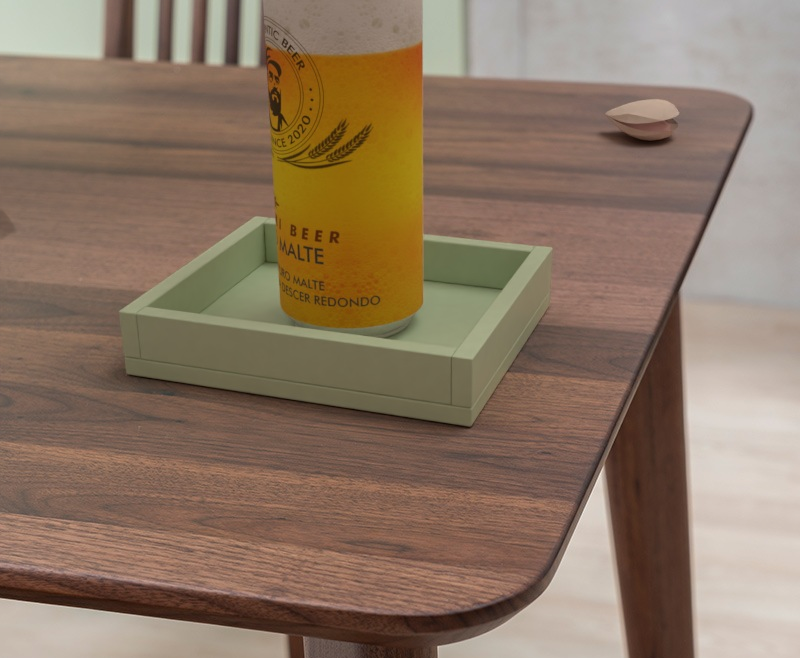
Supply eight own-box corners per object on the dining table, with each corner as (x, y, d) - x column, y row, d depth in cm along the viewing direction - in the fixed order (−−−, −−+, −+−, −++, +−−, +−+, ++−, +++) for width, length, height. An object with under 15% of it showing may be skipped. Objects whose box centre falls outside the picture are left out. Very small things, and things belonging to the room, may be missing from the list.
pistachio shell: (660, 149, 81) (664, 110, 79) (590, 138, 83) (592, 100, 82) (686, 134, 84) (690, 96, 83) (618, 125, 86) (620, 88, 85)
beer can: (260, 308, 55) (236, -54, 48) (384, 284, 57) (378, -64, 51) (315, 358, 50) (298, -36, 43) (449, 330, 53) (451, -48, 46)
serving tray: (125, 374, 51) (117, 310, 50) (258, 270, 62) (255, 215, 60) (471, 427, 46) (472, 359, 45) (550, 305, 57) (553, 247, 56)
